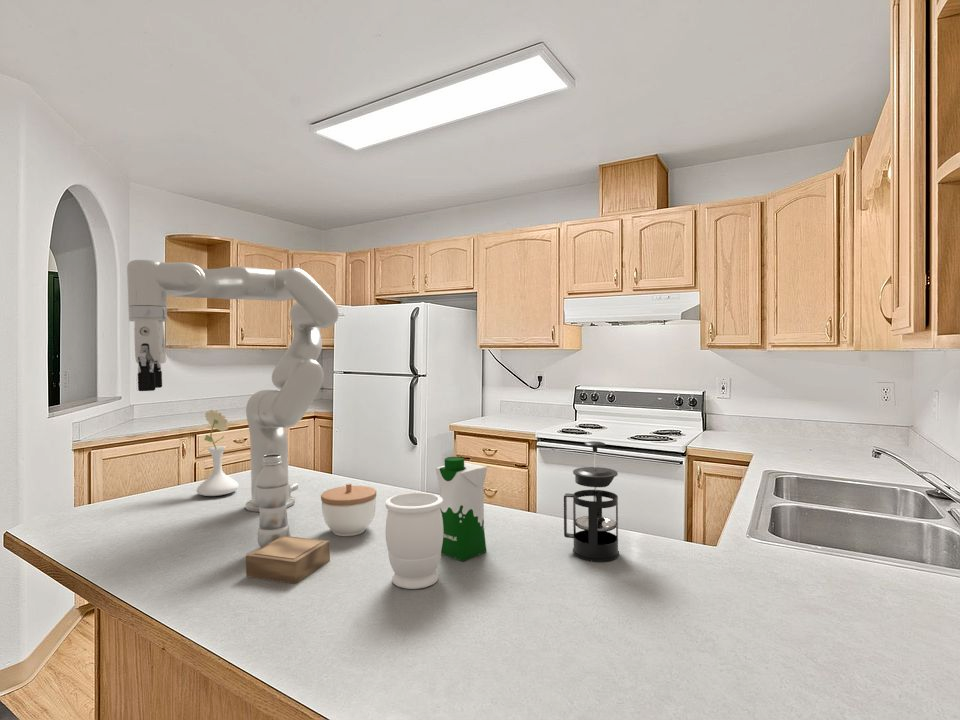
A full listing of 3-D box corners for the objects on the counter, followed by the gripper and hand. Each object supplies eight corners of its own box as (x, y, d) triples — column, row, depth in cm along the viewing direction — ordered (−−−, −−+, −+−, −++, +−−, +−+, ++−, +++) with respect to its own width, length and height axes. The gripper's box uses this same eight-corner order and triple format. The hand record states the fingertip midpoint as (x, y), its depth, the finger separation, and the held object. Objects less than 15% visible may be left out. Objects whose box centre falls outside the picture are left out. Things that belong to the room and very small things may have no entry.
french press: (624, 547, 114) (623, 439, 113) (620, 565, 105) (620, 447, 104) (568, 541, 117) (567, 436, 117) (560, 558, 108) (559, 444, 108)
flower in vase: (245, 493, 160) (243, 409, 159) (205, 501, 152) (202, 413, 151) (228, 485, 169) (225, 406, 168) (188, 493, 161) (186, 410, 160)
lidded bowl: (310, 536, 123) (309, 488, 122) (343, 519, 134) (342, 475, 134) (356, 543, 118) (355, 493, 118) (387, 525, 130) (386, 480, 129)
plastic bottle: (284, 553, 113) (281, 458, 112) (251, 554, 113) (249, 459, 112) (295, 542, 119) (293, 452, 118) (264, 542, 119) (262, 452, 119)
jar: (452, 572, 102) (451, 494, 102) (430, 596, 93) (428, 510, 92) (402, 565, 106) (401, 489, 105) (375, 588, 96) (374, 504, 96)
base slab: (284, 554, 112) (283, 534, 112) (329, 560, 109) (329, 540, 109) (246, 576, 102) (245, 554, 101) (295, 583, 98) (295, 561, 98)
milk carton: (432, 553, 112) (431, 457, 111) (463, 541, 119) (462, 451, 118) (462, 564, 106) (461, 463, 105) (493, 551, 113) (492, 456, 112)
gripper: (161, 312, 117) (163, 391, 117) (172, 316, 133) (174, 386, 133) (120, 312, 114) (123, 393, 115) (136, 316, 130) (139, 387, 130)
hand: (150, 389), depth 124 cm, fingers open, 9 cm apart
